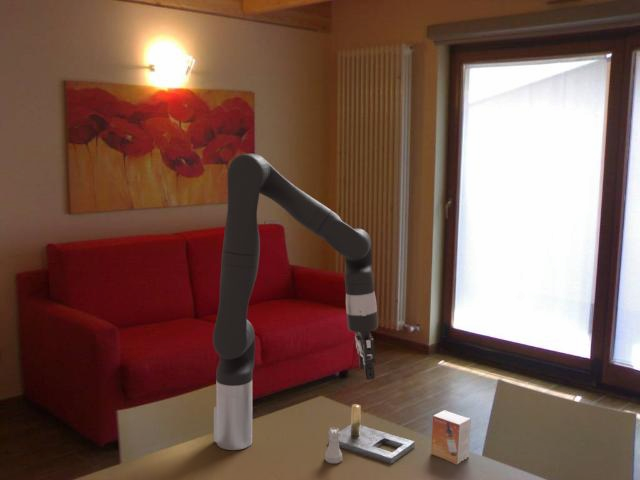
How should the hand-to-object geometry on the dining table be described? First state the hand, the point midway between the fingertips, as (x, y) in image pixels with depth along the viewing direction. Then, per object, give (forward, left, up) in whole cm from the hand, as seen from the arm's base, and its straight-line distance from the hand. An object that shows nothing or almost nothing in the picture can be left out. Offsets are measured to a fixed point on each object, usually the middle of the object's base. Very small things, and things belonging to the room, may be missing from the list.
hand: (367, 373), depth 172 cm
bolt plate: (-1, +6, -21) cm, 22 cm away
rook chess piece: (-4, -7, -22) cm, 23 cm away
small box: (+18, +13, -22) cm, 30 cm away
